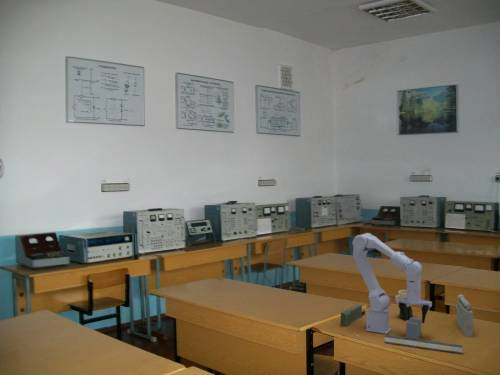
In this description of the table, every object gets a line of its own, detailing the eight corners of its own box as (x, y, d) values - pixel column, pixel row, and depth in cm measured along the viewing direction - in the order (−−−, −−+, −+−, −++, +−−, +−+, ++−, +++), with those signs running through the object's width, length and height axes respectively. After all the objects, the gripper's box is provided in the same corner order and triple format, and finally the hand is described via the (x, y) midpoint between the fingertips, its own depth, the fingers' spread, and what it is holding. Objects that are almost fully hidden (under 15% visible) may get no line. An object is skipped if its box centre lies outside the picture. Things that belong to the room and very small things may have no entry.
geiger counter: (475, 305, 223) (464, 291, 248) (460, 304, 224) (450, 291, 249) (475, 337, 224) (463, 320, 248) (459, 336, 225) (449, 320, 249)
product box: (406, 339, 222) (406, 322, 222) (410, 333, 230) (410, 317, 230) (417, 340, 220) (417, 324, 220) (421, 334, 228) (421, 318, 228)
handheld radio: (339, 326, 242) (360, 313, 262) (345, 327, 240) (367, 315, 261) (339, 312, 242) (361, 300, 262) (346, 313, 240) (367, 302, 260)
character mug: (398, 320, 249) (398, 293, 249) (392, 316, 256) (392, 290, 256) (420, 319, 250) (419, 292, 250) (413, 315, 258) (413, 289, 257)
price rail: (384, 343, 217) (384, 336, 217) (386, 341, 219) (385, 334, 219) (462, 354, 203) (462, 346, 202) (462, 352, 204) (462, 345, 204)
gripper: (394, 290, 225) (394, 321, 225) (429, 293, 218) (429, 326, 218) (398, 287, 231) (398, 317, 231) (432, 290, 224) (432, 321, 224)
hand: (414, 321), depth 225 cm, fingers open, 7 cm apart
